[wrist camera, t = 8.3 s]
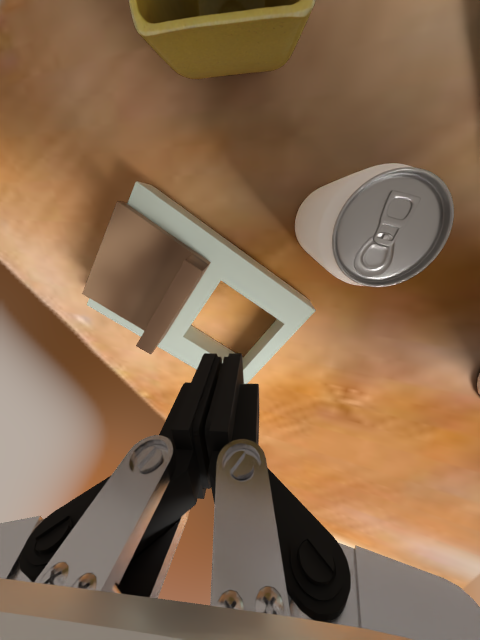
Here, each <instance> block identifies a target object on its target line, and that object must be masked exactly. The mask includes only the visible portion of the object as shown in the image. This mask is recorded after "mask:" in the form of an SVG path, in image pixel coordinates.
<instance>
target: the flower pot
mask: <svg viewBox="0 0 480 640" xmlns="http://www.w3.org/2000/svg"><path fill="white" fill-rule="evenodd" d="M314 4H315V0H129V5H130V10H131V14H132V18H133V22H134V26H135V28H136V30H137V32H138V33H139V34H140V35H141V36H142V38H143V39H144V40H145V41H146V42H147V43H148V44H149V45H150V46H151V47H152V48H153V49H154V50H155V51H156V53H157V54H158V55H159V56H160V57H161V58H162V59H163V60H164V61H165V62H166V63H167V64H168V65H169V66H170V67H171V68H172V69H173V70H174V71H175V72H176V73H178V74H179V75H181V76H183V77H186V78H191V79H202V78H210V77H218V76H227V75H236V74H245V73H254V72H265V71H272V70H276V69H278V68H280V67H282V66H283V65H284V64H285V63H286V62H287V61H288V60H289V58H290V57H291V55H292V53H293V51H294V49H295V47H296V44H297V42H298V40H299V38H300V36H301V33H302V31H303V29H304V27H305V24H306V22H307V20H308V18H309V15H310V13H311V11H312V9H313V7H314Z"/></svg>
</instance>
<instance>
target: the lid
mask: <svg viewBox="0 0 480 640" xmlns="http://www.w3.org/2000/svg"><path fill="white" fill-rule="evenodd" d="M210 263H211V262H210V261H208V260H207V259H205V258H204V257H203V256H201V255H200V254H198V253H197V252H195V251H194V250H193V249H191V248H190V247H188V246H187V245H185V244H184V243H182V242H181V241H180V240H178V239H177V238H175V237H174V236H172V235H171V234H170V233H168V232H167V231H165V230H164V229H162V228H161V227H160V226H158V225H157V224H155V223H154V222H152V221H151V220H149V219H148V218H147V217H145V216H144V215H142V214H141V213H139V212H138V211H137V210H135V209H134V208H132V207H131V206H129V205H128V204H126V203H125V202H122V201H117V203H116V206H115V208H114V211H113V214H112V216H111V219H110V222H109V224H108V227H107V230H106V232H105V235H104V238H103V240H102V243H101V245H100V248H99V251H98V253H97V256H96V259H95V261H94V264H93V267H92V269H91V272H90V274H89V277H88V280H87V282H86V285H85V288H84V290H83V293H82V294H83V295H85V296H87V297H88V298H90V299H92V300H93V301H95V302H97V303H98V304H100V305H102V306H104V307H105V308H107V309H109V310H110V311H112V312H114V313H115V314H117V315H119V316H120V317H122V318H124V319H125V320H127V321H129V322H130V323H132V324H134V325H136V326H137V327H139V328H141V329H142V330H144V333H143V335H142V336H141V338H140V340H139V342H138V343H137V345H136V346H137V347H139V348H140V349H142V350H144V351H146V352H147V353H149V354H152V352H153V351H154V350H155V349H156V347H157V346H158V345H159V343H160V342H161V341H162V339H163V338H164V337H165V335H166V334H167V332H168V331H169V329H170V327H171V326H172V324H173V323H174V321H175V319H176V318H177V316H178V315H179V313H180V311H181V310H182V308H183V307H184V305H185V303H186V302H187V300H188V299H189V297H190V295H191V294H192V292H193V291H194V289H195V287H196V286H197V284H198V283H199V281H200V279H201V278H202V276H203V275H204V273H205V271H206V270H207V268H208V267H209V265H210Z"/></svg>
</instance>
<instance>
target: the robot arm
mask: <svg viewBox="0 0 480 640" xmlns="http://www.w3.org/2000/svg"><path fill="white" fill-rule="evenodd" d="M477 388H478V393H479V394H480V373H479V376H478V381H477ZM258 439H259V385H258V384H244V377H243V362H242V354H241V353H229V355H228V357H224V359H223V363H222V358H221V357H218V356H217V354H216V353H204V354H203V356H202V359H201V361H200V363H199V366H198V368H197V370H196V373H195V375H194V377H193V380H192V382H191V383H184V384H183V386H182V388H181V390H180V392H179V394H178V396H177V398H176V401H175V403H174V405H173V407H172V409H171V411H170V413H169V415H168V417H167V419H166V422H165V424H164V426H163V428H162V430H161V432H160V434H159V435H154V436H150V437H147V438H145V439H143V440H141V441H139V442H138V443H137V444H135V445H134V446H133V447H132V449H131V450H130V451H129V452H128V454H127V455H126V456H125V458H124V459H123V460H122V462H121V463H120V465H119V466H118V467H117V469H116V470H115V471H114V473H113V474H112V475H111V476H110V477H108V478H107V479H105V480H104V481H102V482H100V483H99V484H97V485H95V486H94V487H92V488H91V489H89V490H88V491H86V492H84V493H83V494H81V495H80V496H78V497H77V498H75V499H73V500H72V501H70V502H69V503H67V504H66V505H64V506H63V507H61V508H59V509H58V510H56V511H55V512H53V513H52V514H51V515H49V516H48V517H47V518H45V519H42V517H41V516H37V517H32V518H27V519H21V520H16V521H11V522H6V523H1V524H0V640H480V607H479V606H478V605H477V603H476V602H475V601H474V600H473V599H472V598H471V597H470V596H469V595H468V594H466V593H465V592H464V591H463V590H462V589H461V588H460V587H459V586H457V585H455V584H453V583H451V582H450V581H448V580H446V579H444V578H441V577H439V576H436V575H433V574H431V573H428V572H425V571H423V570H420V569H417V568H415V567H412V566H409V565H406V564H404V563H401V562H398V561H396V560H393V559H390V558H388V557H385V556H382V555H380V554H377V553H374V552H372V551H369V550H366V549H364V548H361V547H358V546H355V549H353V548H351V547H348V546H346V545H343V544H340V543H338V542H337V541H336V540H335V538H334V537H333V536H332V535H331V534H330V533H329V532H328V531H327V530H326V529H325V528H324V527H323V525H322V524H321V523H320V522H319V521H318V520H317V519H316V518H315V517H314V516H313V515H312V514H311V513H310V512H309V511H308V510H307V509H306V508H305V507H304V506H303V505H302V503H301V502H300V501H299V500H298V499H297V498H296V497H295V496H294V495H293V494H292V493H291V492H290V491H289V490H288V489H287V488H286V487H285V486H284V485H283V484H282V483H281V481H280V480H279V479H278V478H277V477H276V476H275V475H274V474H273V473H272V472H271V471H270V470H269V469H268V468H267V463H266V458H265V455H264V452H263V450H262V449H261V448H260V446H259V445H258ZM206 488H208V489H209V488H212V493H213V498H214V504H215V512H214V535H213V559H212V582H211V605H210V606H208V605H202V604H195V603H187V602H179V601H172V600H165V599H157V598H158V595H159V593H160V590H161V587H162V585H163V582H164V579H165V577H166V574H167V572H168V569H169V566H170V564H171V561H172V558H173V556H174V553H175V550H176V548H177V545H178V542H179V540H180V537H181V534H182V532H183V529H184V527H185V524H186V521H187V518H188V514H189V510H190V509H191V508H192V507H193V506H194V505H195V504H196V502H197V498H200V499H204V496H205V491H206Z"/></svg>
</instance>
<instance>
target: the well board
mask: <svg viewBox="0 0 480 640" xmlns="http://www.w3.org/2000/svg"><path fill="white" fill-rule="evenodd" d="M127 204H128V205H129V206H131V207H132V208H134V209H135V210H137V211H138V212H139V213H141V214H142V215H144V216H145V217H147V218H148V219H149V220H151V221H152V222H154V223H155V224H157V225H158V226H160V227H161V228H162V229H164V230H165V231H167V232H168V233H170V234H171V235H172V236H174V237H175V238H177V239H178V240H180V241H181V242H182V243H184V244H185V245H187V246H188V247H190V248H191V249H193V250H194V251H195V252H197V253H198V254H200V255H201V256H203V257H204V258H205V259H207V260H208V261H210V262H211V263H210V265H209V267H208V268H207V270H206V271H205V273H204V275H203V276H202V278H201V279H200V281H199V283H198V284H197V286H196V287H195V289H194V291H193V292H192V294H191V295H190V297H189V299H188V300H187V302H186V303H185V305H184V307H183V308H182V310H181V311H180V313H179V315H178V316H177V318H176V319H175V321H174V323H173V324H172V326H171V327H170V329H169V331H168V332H167V334H166V335H165V337H164V338H163V339H162V341H161V342H160V343H159V345H158V347H159V348H161V349H163V350H164V351H166V352H168V353H169V354H171V355H173V356H175V357H176V358H178V359H180V360H181V361H183V362H185V363H186V364H188V365H190V366H192V367H193V368H195V369H197V368H198V366H199V363H200V361H201V359H202V356H203V354H204V353H216V354H217V356H218V357H221V358H222V363H223V359H224V357H228V355H229V353H235V352H233V351H232V350H230V349H228V348H227V347H225V346H224V345H222V344H220V343H219V342H217V341H216V340H214V339H212V338H211V337H209V336H208V335H206V334H204V333H203V332H201V331H200V330H198V329H196V328H195V327H193V326H192V325H191V324H192V323H193V321H194V320H195V318H196V317H197V315H198V314H199V312H200V311H201V309H202V308H203V306H204V305H205V303H206V302H207V300H208V299H209V297H210V296H211V294H212V293H213V291H214V290H215V288H216V287H217V285H218V284H219V282H220V281H223V282H224V283H226V284H227V285H229V286H230V287H232V288H233V289H234V290H236V291H237V292H239V293H240V294H242V295H243V296H245V297H246V298H248V299H249V300H250V301H252V302H253V303H255V304H256V305H258V306H259V307H261V308H262V309H264V310H265V311H267V312H268V313H269V314H271V315H272V316H274V317H275V318H277V319H276V321H275V322H274V323H273V324H272V325H271V326H270V327H269V329H268V330H267V331H266V332H265V333H264V334H263V335H262V337H261V338H260V339H259V340H258V341H257V342H256V344H255V345H254V346H253V347H252V348H251V349H250V350H249V352H248V353H247V354H246V355H245V356H244V357H242V362H243V377H244V384H247V383H248V382H249V381H250V380H251V379H252V378H253V377H254V376H255V375H256V373H257V372H258V371H259V370H260V369H261V368H262V367H263V366H264V365H265V364H266V363H267V362H268V361H269V360H270V359H271V358H272V356H273V355H274V354H275V353H276V352H277V351H278V350H279V349H280V348H281V347H282V346H283V345H284V344H285V343H286V342H287V341H288V339H289V338H290V337H291V336H292V335H293V334H294V333H295V332H296V331H297V330H298V329H299V328H300V327H301V326H302V325H303V324H304V322H305V321H306V320H307V319H308V318H309V317H310V316H311V315H312V314H313V313H314V312H315V311H316V310H315V309H314V307H313V305H312V303H311V301H310V300H309V299H307V298H306V297H305V296H303V295H302V294H301V293H299V292H298V291H297V290H295V289H294V288H292V287H291V286H290V285H288V284H287V283H286V282H284V281H283V280H281V279H280V278H279V277H277V276H276V275H275V274H273V273H272V272H270V271H269V270H268V269H266V268H265V267H264V266H262V265H261V264H259V263H258V262H257V261H255V260H254V259H253V258H251V257H250V256H248V255H247V254H246V253H244V252H243V251H242V250H240V249H239V248H237V247H236V246H235V245H233V244H232V243H231V242H229V241H228V240H226V239H225V238H224V237H222V236H221V235H220V234H218V233H217V232H215V231H214V230H213V229H211V228H210V227H209V226H207V225H206V224H205V223H203V222H202V221H200V220H199V219H198V218H196V217H195V216H194V215H192V214H191V213H189V212H188V211H187V210H185V209H184V208H183V207H181V206H180V205H178V204H177V203H176V202H174V201H173V200H172V199H170V198H169V197H167V196H166V195H165V194H163V193H162V192H161V191H159V190H158V189H156V188H155V187H154V186H152V185H150V184H146V183H142V182H137V181H136V183H135V185H134V188H133V191H132V193H131V196H130V198H129V201H128V203H127ZM87 305H88V306H89V307H91V308H93V309H95V310H96V311H98V312H100V313H101V314H103V315H105V316H106V317H108V318H110V319H112V320H113V321H115V322H117V323H118V324H120V325H122V326H123V327H125V328H127V329H129V330H130V331H132V332H134V333H135V334H137V335H139V336H142V335H143V333H144V330H142V329H141V328H139V327H137V326H136V325H134V324H132V323H130V322H129V321H127V320H125V319H124V318H122V317H120V316H119V315H117V314H115V313H114V312H112V311H110V310H109V309H107V308H105V307H104V306H102V305H100V304H98V303H97V302H95V301H93V300H92V299H90V298H89V301H88V303H87Z"/></svg>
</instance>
